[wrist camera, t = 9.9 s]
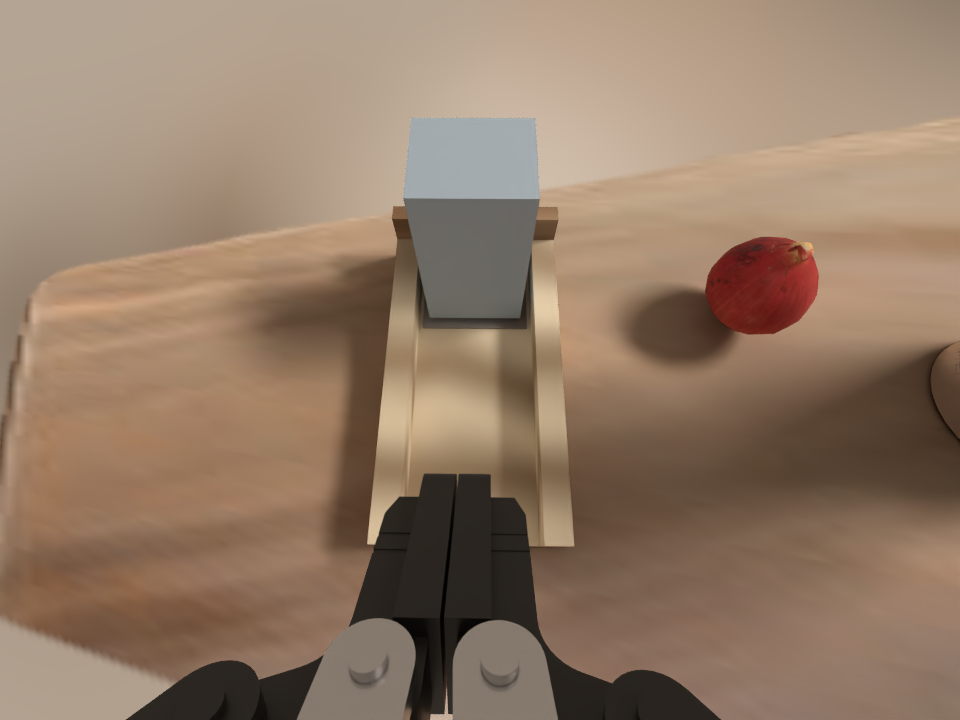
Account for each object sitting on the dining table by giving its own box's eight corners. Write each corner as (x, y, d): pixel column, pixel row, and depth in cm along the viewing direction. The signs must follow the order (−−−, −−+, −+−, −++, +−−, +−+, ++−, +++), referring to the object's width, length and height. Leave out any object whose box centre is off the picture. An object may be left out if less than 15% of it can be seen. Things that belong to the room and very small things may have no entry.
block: (519, 318, 30) (539, 199, 20) (429, 317, 30) (403, 198, 20) (518, 256, 32) (535, 118, 22) (433, 255, 32) (411, 117, 22)
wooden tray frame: (564, 546, 25) (582, 545, 21) (379, 545, 25) (357, 543, 21) (546, 254, 33) (557, 207, 29) (405, 253, 33) (393, 206, 29)
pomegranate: (670, 317, 31) (728, 245, 24) (714, 266, 33) (781, 184, 25) (744, 370, 30) (831, 310, 22) (787, 314, 31) (881, 241, 24)
